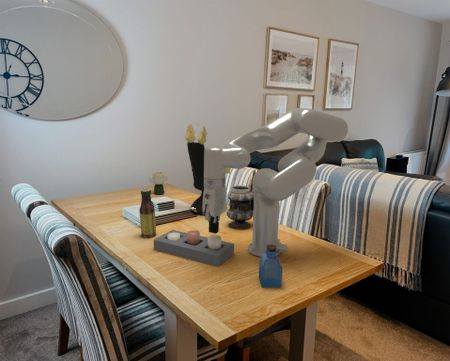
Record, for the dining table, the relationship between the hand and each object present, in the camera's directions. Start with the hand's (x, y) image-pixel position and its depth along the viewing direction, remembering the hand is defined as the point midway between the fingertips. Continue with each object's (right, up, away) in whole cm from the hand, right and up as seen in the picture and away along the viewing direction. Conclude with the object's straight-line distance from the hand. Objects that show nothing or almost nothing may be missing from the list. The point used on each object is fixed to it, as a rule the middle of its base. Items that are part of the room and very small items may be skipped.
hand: (213, 232), depth 123 cm
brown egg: (-8, -6, +6) cm, 11 cm away
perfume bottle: (+18, -14, -15) cm, 27 cm away
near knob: (0, -7, +2) cm, 7 cm away
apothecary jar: (+11, -2, +34) cm, 36 cm away
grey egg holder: (-8, -8, +6) cm, 13 cm away
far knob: (-16, -7, +10) cm, 20 cm away
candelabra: (-6, +2, +53) cm, 53 cm away
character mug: (-36, +10, +86) cm, 94 cm away
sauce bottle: (-28, -5, +21) cm, 35 cm away
